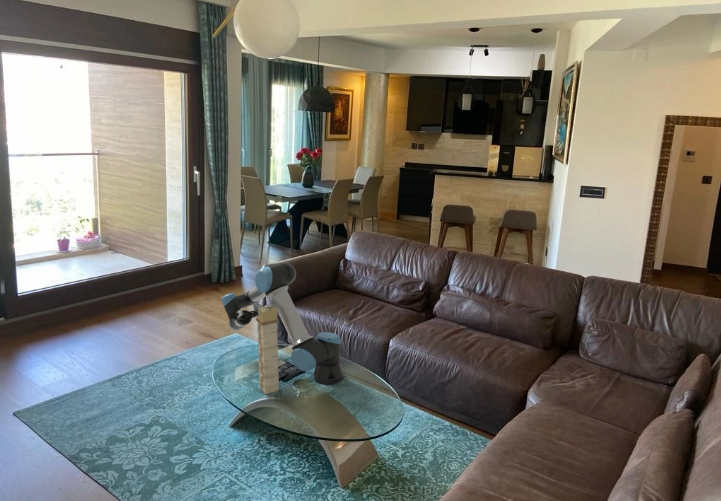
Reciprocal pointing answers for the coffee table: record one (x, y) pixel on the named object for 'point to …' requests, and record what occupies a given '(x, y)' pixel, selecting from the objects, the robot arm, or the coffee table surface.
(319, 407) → the coffee table surface
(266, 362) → the pedestal
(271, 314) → the bar
